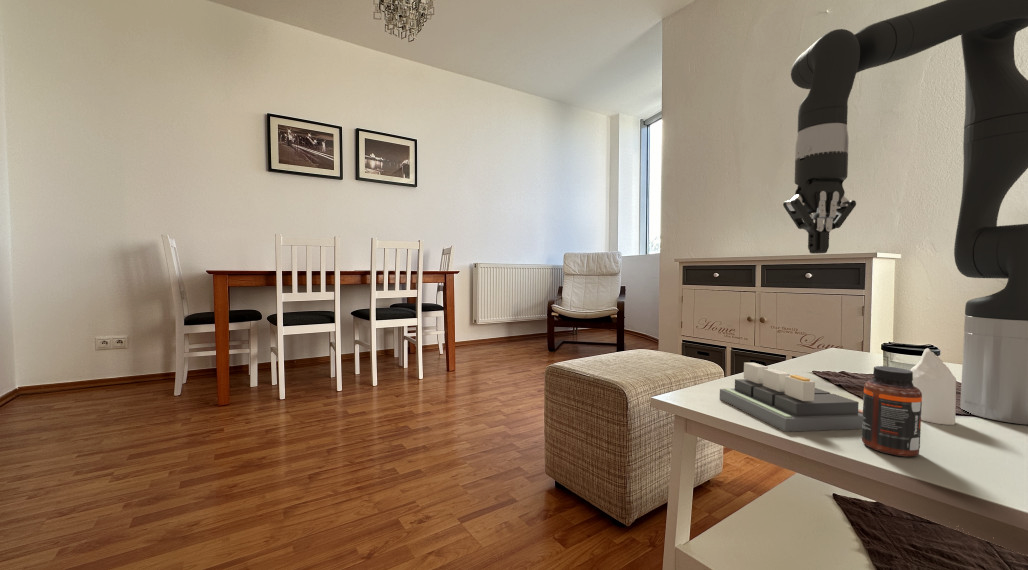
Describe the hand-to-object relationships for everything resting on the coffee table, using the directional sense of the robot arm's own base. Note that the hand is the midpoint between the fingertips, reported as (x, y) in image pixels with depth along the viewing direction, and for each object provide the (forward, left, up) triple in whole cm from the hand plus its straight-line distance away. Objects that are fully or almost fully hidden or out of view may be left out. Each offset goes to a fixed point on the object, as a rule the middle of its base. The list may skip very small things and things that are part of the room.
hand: (818, 253), depth 72 cm
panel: (+6, +2, -28) cm, 29 cm away
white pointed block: (-16, +7, -28) cm, 33 cm away
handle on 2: (+9, +2, -24) cm, 25 cm away
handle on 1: (+9, -3, -24) cm, 26 cm away
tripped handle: (+9, +7, -24) cm, 26 cm away
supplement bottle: (+4, +17, -28) cm, 33 cm away
